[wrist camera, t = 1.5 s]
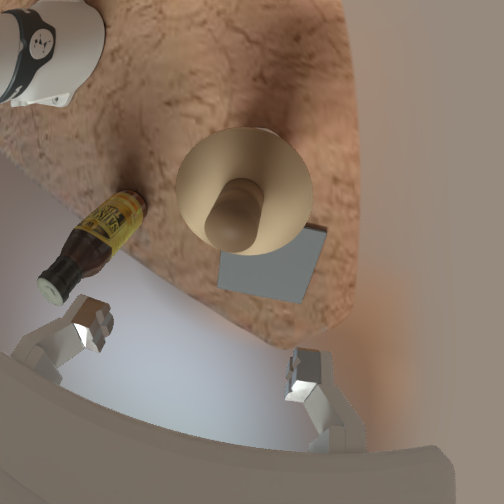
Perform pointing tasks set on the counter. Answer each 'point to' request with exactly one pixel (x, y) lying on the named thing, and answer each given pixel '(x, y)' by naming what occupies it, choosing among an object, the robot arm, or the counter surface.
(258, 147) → the lid
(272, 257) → the mat
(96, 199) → the counter surface
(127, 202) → the sauce bottle
